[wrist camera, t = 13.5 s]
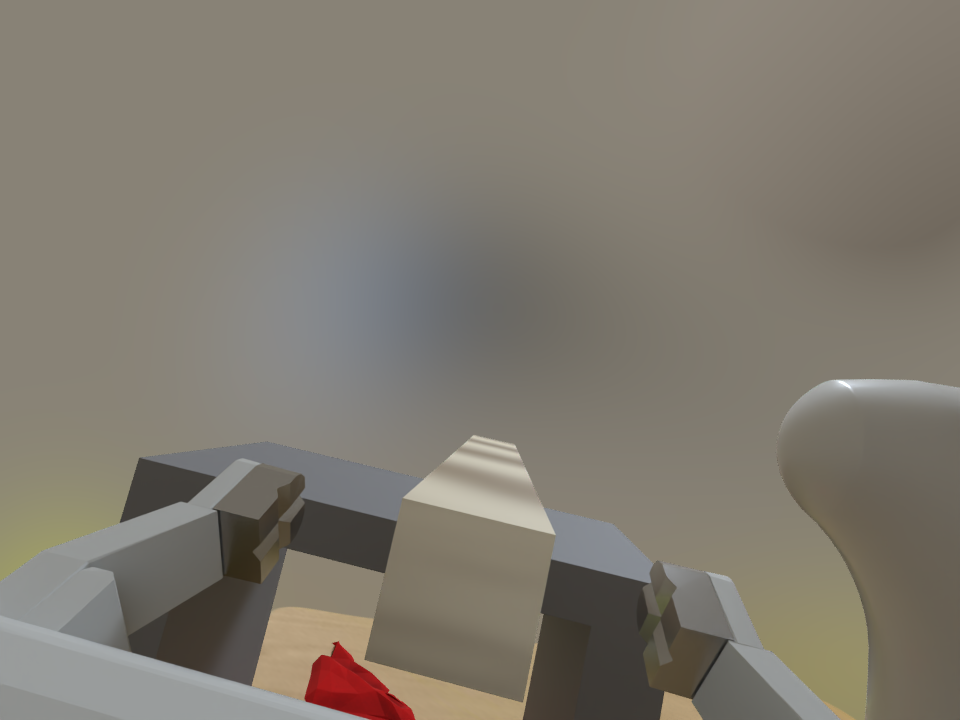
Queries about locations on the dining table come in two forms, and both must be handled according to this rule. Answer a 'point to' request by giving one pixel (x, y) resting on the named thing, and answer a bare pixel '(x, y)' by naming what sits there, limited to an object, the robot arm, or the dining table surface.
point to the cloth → (352, 689)
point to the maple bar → (466, 573)
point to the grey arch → (366, 543)
